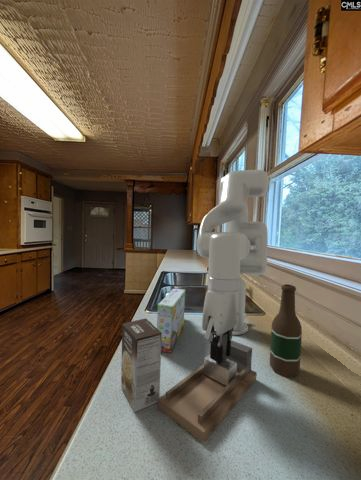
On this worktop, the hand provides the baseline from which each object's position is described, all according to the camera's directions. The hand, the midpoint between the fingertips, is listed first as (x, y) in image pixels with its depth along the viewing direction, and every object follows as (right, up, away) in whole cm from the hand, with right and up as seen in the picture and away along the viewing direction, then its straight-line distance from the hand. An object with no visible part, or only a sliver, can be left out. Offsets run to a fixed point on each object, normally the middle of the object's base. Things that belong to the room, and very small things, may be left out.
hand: (220, 356), depth 57 cm
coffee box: (-19, -7, -4) cm, 21 cm away
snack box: (-13, -6, +25) cm, 29 cm away
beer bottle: (+19, -8, +8) cm, 22 cm away
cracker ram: (0, -5, 0) cm, 5 cm away
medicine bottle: (-14, -5, +40) cm, 43 cm away
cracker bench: (-3, -7, -2) cm, 8 cm away
